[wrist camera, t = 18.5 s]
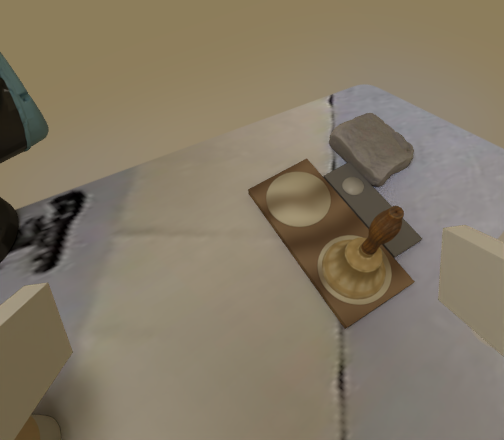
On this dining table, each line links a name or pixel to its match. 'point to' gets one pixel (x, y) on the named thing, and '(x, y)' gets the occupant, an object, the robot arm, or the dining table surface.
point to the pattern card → (368, 205)
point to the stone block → (371, 148)
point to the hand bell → (361, 258)
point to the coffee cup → (39, 429)
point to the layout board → (321, 234)
